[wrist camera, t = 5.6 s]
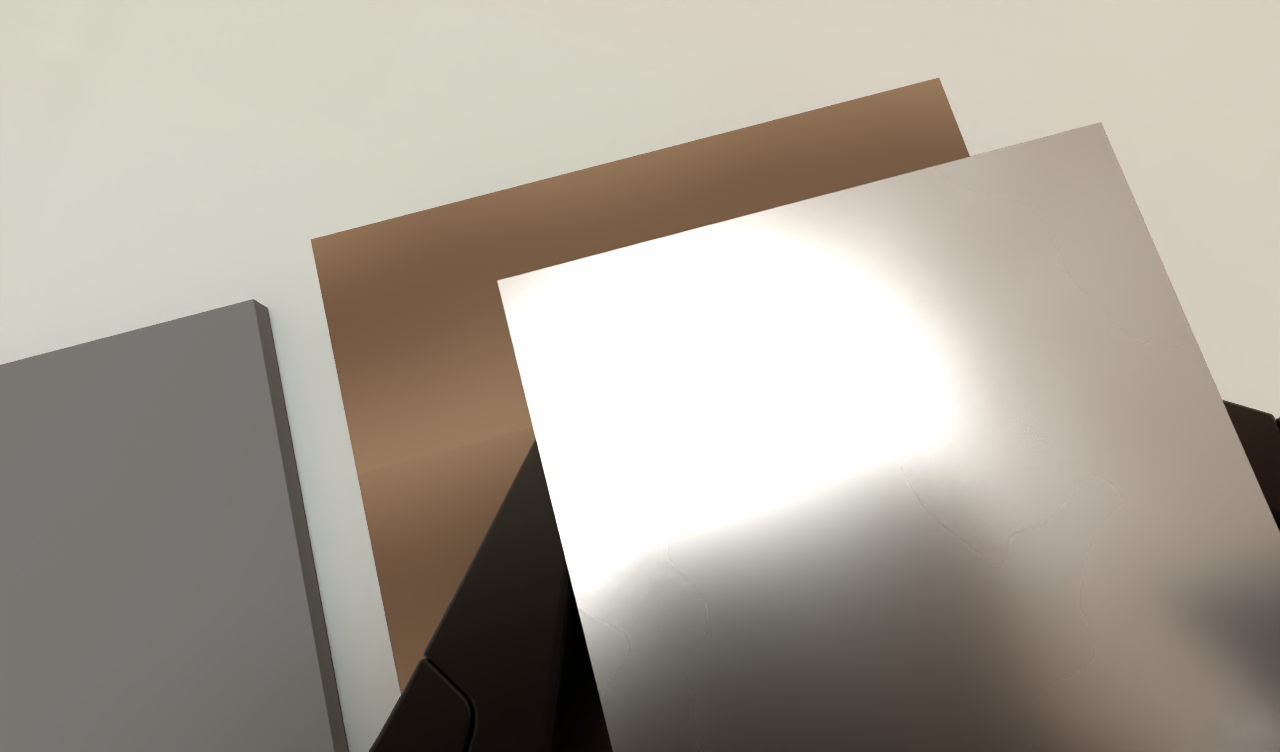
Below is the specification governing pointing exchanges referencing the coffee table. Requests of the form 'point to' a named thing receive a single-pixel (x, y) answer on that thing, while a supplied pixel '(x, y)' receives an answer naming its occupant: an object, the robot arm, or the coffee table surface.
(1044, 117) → the coffee table surface
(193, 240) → the coffee table surface
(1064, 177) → the steel key bar
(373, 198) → the coffee table surface
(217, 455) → the grey mat
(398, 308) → the brown wooden frame
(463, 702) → the robot arm
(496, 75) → the coffee table surface
